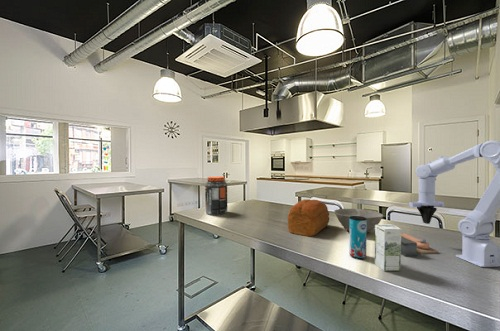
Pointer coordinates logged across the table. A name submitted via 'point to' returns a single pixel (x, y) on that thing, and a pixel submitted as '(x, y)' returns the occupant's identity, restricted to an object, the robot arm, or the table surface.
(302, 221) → the bread
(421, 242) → the link
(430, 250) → the pintle plate
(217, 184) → the supplement tub
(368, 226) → the ceramic bowl
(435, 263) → the table surface
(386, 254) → the milk carton
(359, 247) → the beverage can
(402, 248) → the panel
